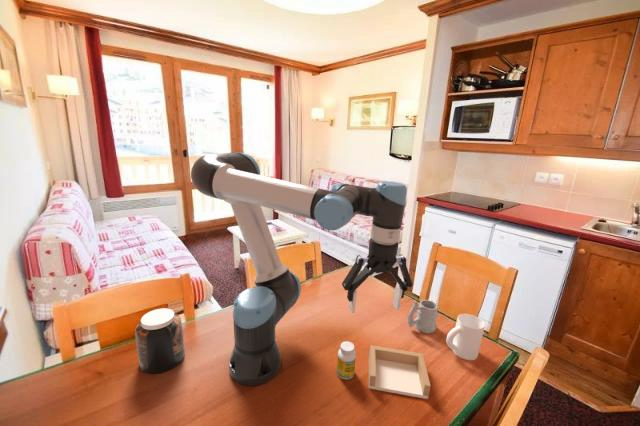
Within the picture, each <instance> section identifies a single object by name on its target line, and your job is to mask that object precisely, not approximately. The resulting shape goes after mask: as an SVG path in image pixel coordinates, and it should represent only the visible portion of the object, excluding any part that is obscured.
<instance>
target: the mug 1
mask: <svg viewBox="0 0 640 426" xmlns="http://www.w3.org/2000/svg"><path fill="white" fill-rule="evenodd" d="M438 310H439V305H437V303H436V302H434V301H433V300H430V299H429V300H428V299H421V300H420V301H419V304H418V302H417V300H413V304H412V307H411V309H410V310H409V312H408V314H407V325H408V326H409V328H412V327H414V326H415V328H416V329H417V330H418V331H420V333H424V334H433V333H434V332H435V331H436V329H437V318H438V315H439V313H438ZM416 312H417V314H416ZM414 314H416V317H415V318H414Z"/></svg>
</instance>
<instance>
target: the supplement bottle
mask: <svg viewBox="0 0 640 426" xmlns="http://www.w3.org/2000/svg"><path fill="white" fill-rule="evenodd" d="M336 359H337V360H336V361H337V362H336V374H337V376H338V377H339V378H340V379H343V380H350V379H352V378H353V377H354V375H355V370H356V359H357V354H356V351H355V345H354V343H353V342H350V341H349V340H348V341H343V342H341V343H340V348H339V349H338V350H337V358H336Z"/></svg>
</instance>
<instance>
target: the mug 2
mask: <svg viewBox="0 0 640 426" xmlns="http://www.w3.org/2000/svg"><path fill="white" fill-rule="evenodd" d="M485 326H486V325H485V323H484V321H483V320H482V319H481V318H479V317H477V316H475V315H473V314H470V313H460V314H459V315H458V316H457V319H456V324H455V327H453V328H451V330H449V332H448V333H447V336H446V341H445V342H446V345H447V346H448V348H450V349H451V351H452V352H453V353H454V354H455V355H456V357H458V358H460V359H463V360H466V361H475V360H476V359H477V358H478V357H479V352H480V348H481V343H482V339H483V336H484V330H485Z"/></svg>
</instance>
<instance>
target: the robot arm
mask: <svg viewBox="0 0 640 426" xmlns="http://www.w3.org/2000/svg"><path fill="white" fill-rule="evenodd" d="M190 177H191V182H192V185H193V186H194V187H195V189H196V190H198V192H200V193H201V194H203V195H205V196H206V197H207V196H208V197H210V198H213V199H214V198H215V199H218V200H223V202H226V203H228V204H230V207H231V208H232V211H233V214H234V218H235V219H236V223H237V224H238V225H237V226H238V227H239V230H240V232H241V235H242V239H243V241H244V244H245V246H246V249H247V251H248V254H249V257H250V259H251V262H252V265H253V268H254V270H255V273H256V275H255V277H254V278H253V282H254V284H255V286H252V288H250V287H249V288H246V289H244V290H242V291H241V292H240V293H239V294H238V295H237V296H236V298H235V299H234V302H233V309H232V319H233V335H234V336H233V337H234V345H233V349H232V352H231V354H230V358H229V360H228V368H229V369H228V370H229V374H230V376H231V379H232V380H233V381H235V382H236V383H238V384H240V385H243V386H249V387H251V386H252V387H253V386H259V385H263V384H265V383H267V382H269V381H270V380H272V379H273V378H274V377H275V376H276V375H277V373H278V372H279V370H280V368H281V363H282V362H281V360H282V359H281V358H282V354H281V351H280V350H279V346H278V345H277V342H276V325H278V323H280V321H281V320H282V319H283V317H284V316H285V315H286V314H287V313H288V312H289V311H290V309H291V308H293V307H294V306H295V305H296V303H297V301H298V300H299V299H300V297H301V292H302V284H301V281H300V278H299V277H298V276H297V274H296V273H294V272H293V271H292V270H290V269H289V267H288V265H285V264H283V263H282V262H281V259H280V256H279V253H278V252H279V251H278V250H277V248H276V244H275V241H274V239H273V236H272V233H271V231H270V230H271V229H270V228H269V225H268V223H267V222H268V221H267V220H266V216H265V214H264V211H263V209H262V207H263V208H267V209H270V210H274V211H279V212H283V213H286V214H290V215H294V216H297V217H300V218H301V217H302V218H306V219H309V220H312V221H315V222H316V223H317V224H318V225H319V226H320V227H321V228H322V229H323V230H326V231H337V230H339V229H341V228H343V227H345V226H347V225H348V224H349V223H350V222H351V221H352V219H353V218H354V217H356V215H361V216H366V217H372V221H371V222H372V224H371V231H370V239H369V244H368V254H367V256H365V257H364V256H361V255H360V254H358V255H356V257H355V262H354V263H353V265H352V266H351V268H350V269H349V272H348V273H347V275H346V277H345V278H344V280H343V281H342V282H341V285H342V287H343V289H344V291H347V295H346V298H347V301H349V303H348V308H349V310H350V312H351V314H355V313H356V312H355V311H356V303H357V296H358V295H357V294H358V292H357V289H358V288H359V287H360V286H361V285H362V284H363V283H364V282H366V280H367V279H368V278H369V277H370V276H373V275H374V273H375V274H381V273H382V274H387V272H389V273H390V275H391V276H392V278H394V281H396V283H397V285H396V284H395V288H394V294H393V299H392V306H393V307H394V309H395V310H396V311H400V306H401V302H402V299H404V297H405V292H407V291H408V290H409V289H408V288H412V287H413V282H412V279H411V277H410V273H409V270H408V269H409V268H408V267H407V258H406V257H405V256H404V255H403V254H399V255H398V249H399V243H398V242H399V241H400V236H401V231H402V225H403V219H404V214H405V209H406V203H407V202H406V201H407V195H408V193H407V192H408V189H407V187H406V185H405V184H403V183H400V182H397V181H387V180H383V181H379V182H378V183H377V186H376V187H368V186H363V185H362V186H361V185H354V184H349V183H341V182H340V183H339V182H337V183H336V182H335V183H334V184H333V185H332V187H331V188H330V190H328V189H322V188H319V187H315V186H311V185H307V184H306V185H305V184H301V183H297V182H292V181H290V180H289V181H288V180H284V179H280V178H275V177H272V176H271V177H270V176H265V175H261V170H260V166H259V164H258V162H257V161H256V159H254V157H253V156H251V155H249V154H247V153H245V152H238V151H233V152H224V153H209V154H205V155H202V156H200V157H199V158H198V159H196V161H194V162H193V165H192V167H191V172H190ZM366 263H367V264H366ZM365 264H366V265H365ZM396 264H398V266H399V270H400V272H401V275H402V278H401V277H400V276H399V274H398V272H397V271H396V269H395V268H394V266H395V265H396ZM363 266H364V267H363ZM362 268H363V269H362ZM402 279H403V280H402Z"/></svg>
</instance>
